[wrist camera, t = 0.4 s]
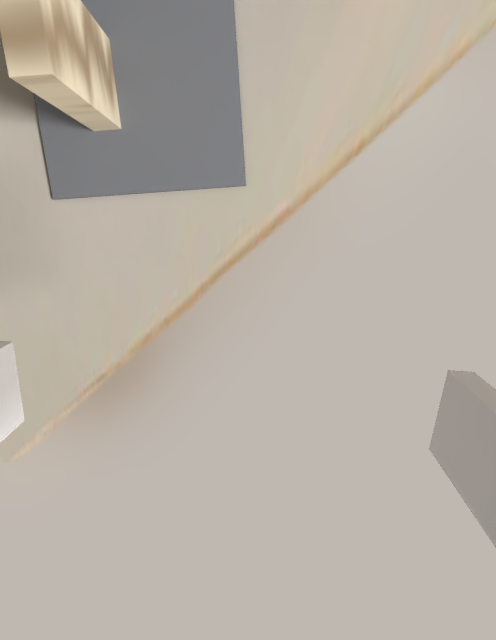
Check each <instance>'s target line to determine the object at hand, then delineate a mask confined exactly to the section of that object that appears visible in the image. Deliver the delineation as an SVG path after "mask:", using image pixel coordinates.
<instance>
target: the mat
mask: <svg viewBox="0 0 496 640" xmlns="http://www.w3.org/2000/svg"><path fill="white" fill-rule="evenodd" d="M81 1H82V3H83V4H84V5H85V7H86V8H87V10H88V11H89V12H90V14H91V15H92V16H93V18H94V19H95V20H96V22H97V23H98V25H99V26H100V27H101V29H102V30H103V31H104V33H105V34H106V35H107V37H108V38H109V41H110V48H111V56H112V63H113V71H114V78H115V85H116V93H117V100H118V108H119V115H120V122H121V129H116V130H103V131H93V130H91V129H89V128H88V127H86V126H85V125H83V124H82V123H80V122H78V121H77V120H75V119H74V118H72V117H71V116H69V115H68V114H66V113H64V112H63V111H61V110H60V109H58V108H57V107H55V106H53V105H52V104H50V103H49V102H47V101H46V100H44V99H42V98H41V97H39V96H38V95H36V94H35V93H34V98H35V103H36V109H37V114H38V120H39V125H40V131H41V136H42V142H43V147H44V153H45V158H46V164H47V169H48V175H49V180H50V186H51V191H52V197H53V199H54V200H56V199H70V198H84V197H98V196H111V195H125V194H139V193H153V192H167V191H180V190H194V189H208V188H222V187H235V186H246V180H245V164H244V149H243V134H242V119H241V104H240V88H239V73H238V58H237V43H236V28H235V12H234V0H81Z"/></svg>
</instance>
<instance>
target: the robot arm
mask: <svg viewBox="0 0 496 640" xmlns="http://www.w3.org/2000/svg"><path fill="white" fill-rule="evenodd" d="M23 421H24V415H23V408H22V401H21V394H20V388H19V381H18V374H17V367H16V360H15V354H14V347H13V342H11V341H0V442H1V441H2V440H3V439H5V438H6V437H7V436H8V435H9V434H10V433H11V432H12V431H13V430H14V429H16V428H17V427H18V426H19V425H20V424H21V423H22V422H23ZM429 449H430V451H431V452H432V454H433V455H434V457H435V458H436V460H437V461H438V463H439V464H440V466H441V467H442V468H443V470H444V472H445V473H446V474H447V476H448V477H449V479H450V480H451V482H452V483H453V485H454V486H455V488H456V489H457V491H458V492H459V494H460V495H461V497H462V498H463V500H464V501H465V503H466V504H467V506H468V507H469V509H470V510H471V512H472V513H473V515H474V516H475V518H476V519H477V520H478V522H479V523H480V525H481V526H482V528H483V529H484V531H485V532H486V534H487V535H488V537H489V538H490V540H491V541H492V543H493V544H494V546H495V547H496V389H494V388H493V387H492V386H491V385H490V384H488V383H487V382H486V381H485V380H483V379H482V378H481V377H480V376H478V375H477V374H476V373H475V372H465V371H451V370H448V373H447V377H446V381H445V385H444V389H443V393H442V398H441V402H440V406H439V410H438V414H437V419H436V423H435V427H434V431H433V435H432V439H431V443H430V448H429Z"/></svg>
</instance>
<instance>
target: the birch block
mask: <svg viewBox="0 0 496 640" xmlns="http://www.w3.org/2000/svg"><path fill="white" fill-rule="evenodd" d="M0 33H1V38H2V43H3V48H4V53H5V59H6V64H7V69H8V74H9V78H11V79H13V80H14V81H16V82H17V83H19V84H20V85H22V86H24V87H25V88H27V89H28V90H30V91H31V92H33V93H35V94H36V95H38V96H39V97H41V98H42V99H44V100H46V101H47V102H49V103H50V104H52V105H53V106H55V107H57V108H58V109H60V110H61V111H63V112H64V113H66V114H68V115H69V116H71V117H72V118H74V119H75V120H77V121H78V122H80V123H82V124H83V125H85V126H86V127H88V128H89V129H91V130H93V131H103V130H116V129H121V122H120V115H119V108H118V100H117V93H116V85H115V78H114V71H113V63H112V56H111V48H110V41H109V38H108V37H107V35H106V34H105V33H104V31H103V30H102V29H101V27H100V26H99V25H98V23H97V22H96V20H95V19H94V18H93V16H92V15H91V14H90V12H89V11H88V10H87V8H86V7H85V5H84V4H83V3H82V1H81V0H0Z"/></svg>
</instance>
